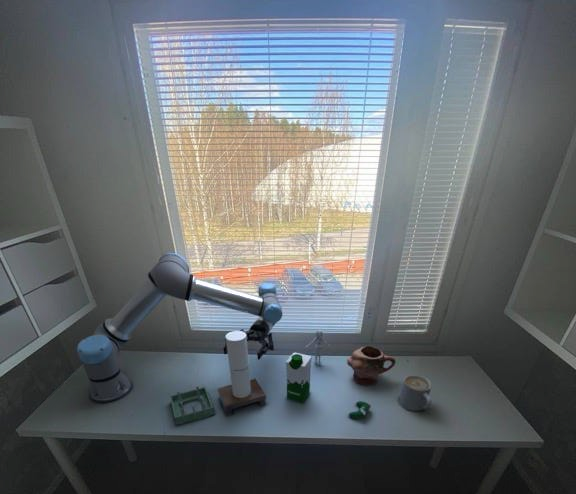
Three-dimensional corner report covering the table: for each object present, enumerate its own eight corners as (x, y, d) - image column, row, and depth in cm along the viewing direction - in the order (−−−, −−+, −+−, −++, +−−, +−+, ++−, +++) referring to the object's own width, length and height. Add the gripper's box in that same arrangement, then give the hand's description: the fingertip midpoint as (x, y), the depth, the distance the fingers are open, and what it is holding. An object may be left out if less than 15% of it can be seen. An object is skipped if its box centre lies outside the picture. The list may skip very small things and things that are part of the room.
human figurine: (329, 362, 152) (332, 328, 142) (330, 366, 149) (333, 332, 139) (304, 362, 152) (305, 328, 142) (304, 367, 149) (305, 332, 139)
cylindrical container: (247, 399, 123) (241, 341, 108) (229, 396, 124) (222, 339, 110) (253, 388, 128) (249, 332, 114) (236, 385, 130) (230, 329, 116)
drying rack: (171, 402, 129) (167, 388, 125) (206, 393, 133) (204, 379, 130) (176, 425, 118) (172, 410, 114) (214, 414, 123) (212, 400, 119)
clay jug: (386, 370, 147) (392, 343, 139) (395, 386, 137) (401, 359, 129) (343, 371, 146) (346, 344, 138) (348, 387, 136) (351, 360, 128)
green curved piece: (353, 423, 121) (365, 418, 117) (347, 415, 121) (359, 410, 117) (361, 409, 128) (373, 404, 124) (356, 401, 127) (368, 396, 123)
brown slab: (219, 397, 131) (217, 388, 128) (256, 387, 136) (255, 378, 134) (226, 416, 122) (225, 406, 119) (266, 405, 127) (265, 395, 124)
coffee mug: (395, 395, 132) (399, 375, 126) (418, 393, 133) (423, 373, 127) (409, 418, 121) (415, 397, 115) (434, 415, 122) (441, 395, 116)
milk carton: (283, 399, 130) (283, 357, 119) (293, 386, 137) (293, 346, 126) (304, 405, 127) (305, 363, 116) (312, 392, 134) (314, 351, 123)
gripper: (289, 340, 136) (273, 367, 120) (234, 332, 142) (212, 357, 125) (289, 324, 132) (272, 349, 115) (233, 316, 138) (209, 340, 121)
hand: (241, 353), depth 120 cm, fingers open, 13 cm apart
